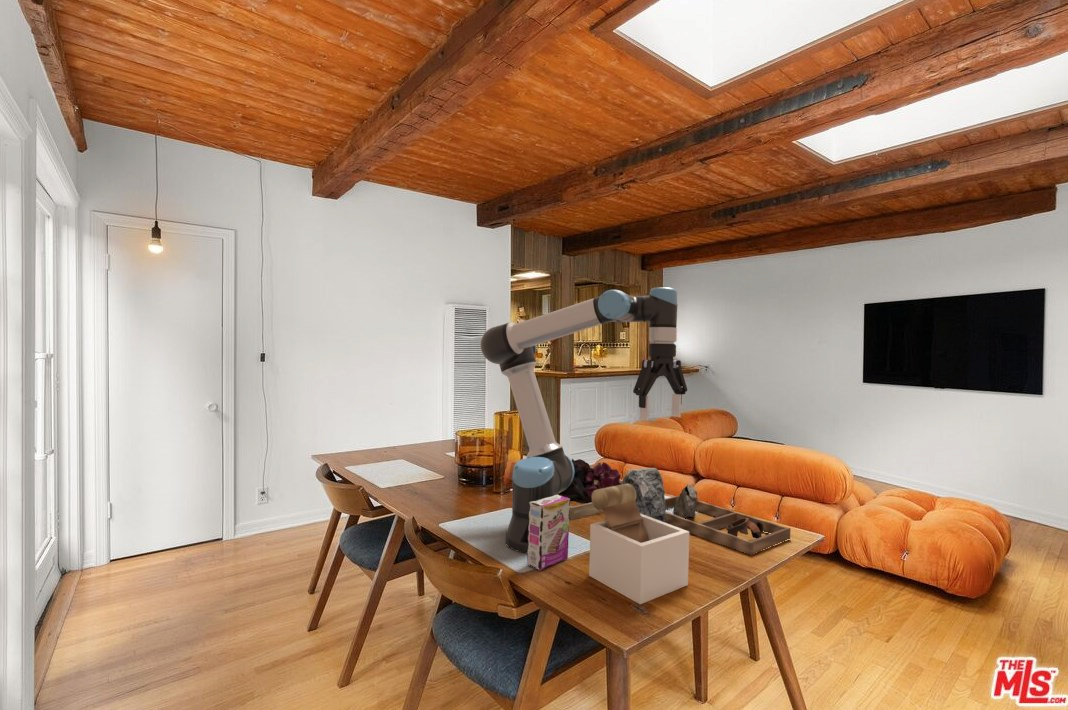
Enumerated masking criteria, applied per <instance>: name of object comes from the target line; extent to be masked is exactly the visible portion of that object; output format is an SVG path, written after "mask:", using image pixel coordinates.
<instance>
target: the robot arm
mask: <svg viewBox="0 0 1068 710" xmlns="http://www.w3.org/2000/svg"><path fill="white" fill-rule="evenodd" d="M611 322H612V323H613V322H614V323H642V322H643V323H647V322H649V325H648V327H649V331H648V333H649V335H648V336H649V337H648V341H649V342H650V343H649V344H648V356H649V357H650V359H643V360H642V363H641V368H640V372H639V373H638V375H637V376H638V377H637V379H636V383H635V384H634V387H633V390H632V392H633V393H632V394H635V396H638V408H639V420H643V421H649V420H650V396H648V394H649V393H650V391H651V389H652V387H653V386H654V385H655V383H656V380H657V379H658V378H659V377H665V378H666V380H667V382H668V384H669V385H670V387H671V390H672V391H673V393H671V417H675V418H681V417H682V416H681V415H682V405H683V403H682V402H683V401H682V399H683V398H682V397H683V395H685V394H686V392H688V387H687V383H686V379H685V377H684V373H683V370H682V361H681V360H680V359H674V358H675V357H676V355H677V345H676V344H675V343H676V342H677V339H678V338H677V332H678V330H677V322H678V292H677V290H676V289H675V288H673V287H662V286H660V287H653V288H651V289H650V291H649V293H648V295H630V294H627V293H625V292H624V291H622V290H618V289H609V290H608V289H607V290H606V291H604V292H603V293H602V294H601V295H600V296H599V295H598V296H597V297H593V298H590V299H588V300H585V301H581V302H578V303H575V304H572V305H570V306H566V307H563V308H560V309H557V310H554V311H551V312H549V313H546V314H542V315H539V316H536V317H533V318H529V319H526V320H524V321H521V322H517V323H515V322H513V321H510V322H507V323H503V324H500V325H496V326H493V327H491V328H489V329H487V330H486V331H485V332H484V334H483V335H482V338H481V339H480V350H481V353H482V355H483V357H484V358H485V359H486V360H487V361H488V362H490V363H492V364H495V365H499V367H500V372H501V374H502V375H503V376H505V377H507V378H508V382H509V385H510V388H511V389H510V390H511V392H512V396H513V398H514V402H515V405H516V410H517V411H518V412H517V413H518V416H519V418H520V422H521V425H522V429H523V433H524V436H525V438H526V442H527V446H528V449H529V451H528V453H527V454H526V457H525V458H522V459H519V460H518V461H516V462H515V463H514V466H513V471H512V477H511V478H512V504H511V505H512V506H511V507H512V510H511V511H512V512H511V514H512V515H511V517H510V520H509V524H508V528H507V531H506V533H505V545H506V544H507V545H508V546H509V547H510V549H511V548H512V550H513V549H514V551H516V550H517V552H520V551H521V553H527V554H528V528H529V502H532V501H536V500H540V499H544V498H547V497H551V496H554V495H559V494H561V493H560V492H563V491H564V490H565V489H567V487H568V486H569V485H570V484H571V482H572V480H573V478H574V466H573V463H572V458H570V457H569V456H568V455H566V454H565V451H564V448H563V446H562V445H561V444H560V443H558V442H557V441H556V438H555V434H554V433H553V428H552V425H551V421H550V418H549V415H548V412H547V409H546V406H545V405H546V404H545V402H544V398H543V396H542V393H541V390H540V386H539V383H538V380H537V377H536V373H535V368H536V365H537V364H538V363H537V360H536V356H535V354H536V352H537V345H540V344H543V343H546V342H550V341H553V340H556V339H559V338H562V337H565V336H566V337H567V336H569V335H572V334H575V333H579V332H582V331H585V330H589V329H591V328H594V327H597V326H600V325H605V324H608V323H611ZM507 545H506V546H507ZM508 546H507V547H508ZM509 547H508V548H509Z"/></svg>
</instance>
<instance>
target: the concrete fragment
mask: <svg viewBox="0 0 1068 710" xmlns="http://www.w3.org/2000/svg"><path fill="white" fill-rule="evenodd" d="M678 496H679V498H677V499H676V500H675V503H674V508H673V511H675V512H674V513H675V514H676V515H677V514H678V515H677V516H679V515H680V516H679V517H682V518H686V519H689V518H688V517H693V518H692V519H694V517H696V511H695V510H696V509H695V508H696V505H697V502H698V501H697V500H698V491H697V490H696V488H695V487H694V486H693V485H692V484H690V485H689V484H687V485H686V486H685V487H683V488H682V489H681V492H680V493H679V495H678Z"/></svg>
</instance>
